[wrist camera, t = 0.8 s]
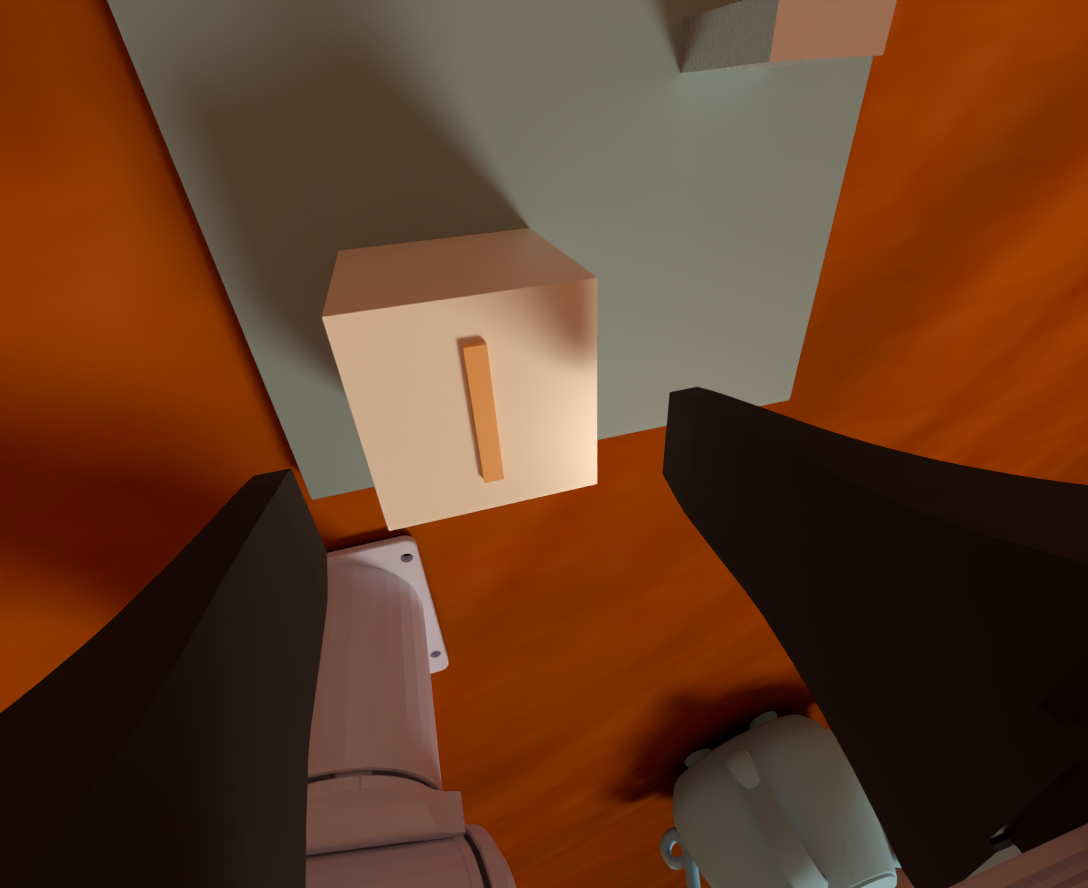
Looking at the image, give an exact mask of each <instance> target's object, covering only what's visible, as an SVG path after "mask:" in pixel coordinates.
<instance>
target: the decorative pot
mask: <svg viewBox="0 0 1088 888" xmlns="http://www.w3.org/2000/svg"><path fill="white" fill-rule="evenodd" d="M749 728H750V730H747V731H745V732H743V733H741V734H739V735H737V736H736V737H734V738H732V739H730V740H728V741H727V742H725V743H723V744H721V745H720V746H718V747H717V748H715V749H714V750H711V749H709V748H705V749H701V750H698V751H696V752H694V753H692V754H691V755H689V756H688V757H687V758H686V760H685V762H684V764H685V765H686V766H687V767H688V769H687V770H685V771H684V772H683V773H682V774H681V775H680V777H679V778H678V779H677V781H676V783H675V785H674V795H673V819H674V824H675V827H673V828H670V829H669V830H667V831H666V832H665V833H664V835H663V836H662V838H661V841H660V851H661V854H662V857H663V859H664V861H665V863H666V864H667V865H668V866H669V867H670V868H672V869H674V870H679V869H681V868H683V867H684V866H685V873H686V882H687V888H700V880H699V872H698V869H699V871H700V872H701V874H702V875H703V876H704V878H705V879H706V881H707V882H708V883H709V885H710V886H711V887H712V888H895V886H896V884H897V882H896V880H897V877H896V872H895V867H898V868H901V866H900V864H899V862H898V859H897V857H896V855H895V853H894V851H892V852H891V851H890V848H889V844H888V841H887V837H886V834H885V832H884V830H883V828H882V826H881V824H880V822H879V820H878V818H877V816H876V814H875V812H874V810H873V808H872V806H871V804H870V802H869V800H868V798H867V796H866V794H865V792H864V790H863V788H862V786H861V784H860V782H859V781H858V779H857V777H856V775H855V773H854V771H853V769H852V767H851V765H850V763H849V761H848V760H847V758H846V756H845V754H844V752H843V750H842V749H841V747H840V745H839V743H838V741H837V739H836V738H835V736H834V734H833V732H831V731H830V730H829V729H827V728H826V727H824V726H822V725H821V724H819V723H817V722H815V721H813V720H811V719H809V718H807V717H805V716H803V715H799V714H793V715H786V716H783V717H779V718H777V714H776V712H774V711H770V712H766V713H763V714H761V715H759V716H758V717H756V718H755V719H754V720H753V721H752V722H751V723H750V725H749ZM676 842H678V843H679V844H680V846H681V848H682V852H683V855H682V856H680V857H678V858H674V857H673V856H672V854H671V848H672V846H673V844H674V843H676Z"/></svg>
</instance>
